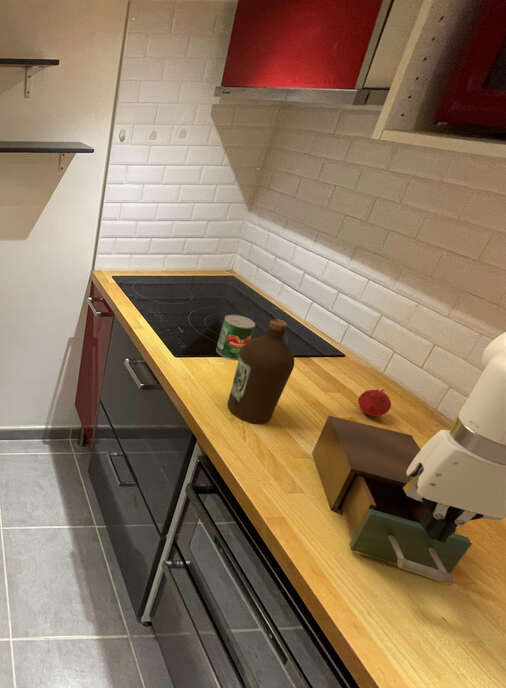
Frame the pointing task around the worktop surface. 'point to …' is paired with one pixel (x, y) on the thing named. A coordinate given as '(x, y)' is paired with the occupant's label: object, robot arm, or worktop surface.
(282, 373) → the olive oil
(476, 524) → the worktop surface
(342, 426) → the cabinet
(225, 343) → the canned tomato
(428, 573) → the drawer
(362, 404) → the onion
